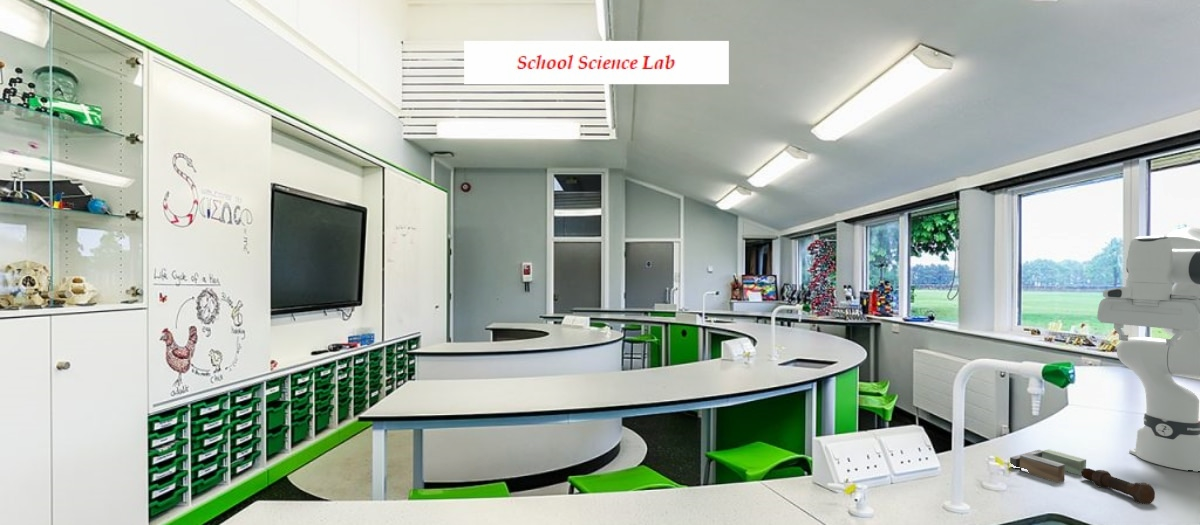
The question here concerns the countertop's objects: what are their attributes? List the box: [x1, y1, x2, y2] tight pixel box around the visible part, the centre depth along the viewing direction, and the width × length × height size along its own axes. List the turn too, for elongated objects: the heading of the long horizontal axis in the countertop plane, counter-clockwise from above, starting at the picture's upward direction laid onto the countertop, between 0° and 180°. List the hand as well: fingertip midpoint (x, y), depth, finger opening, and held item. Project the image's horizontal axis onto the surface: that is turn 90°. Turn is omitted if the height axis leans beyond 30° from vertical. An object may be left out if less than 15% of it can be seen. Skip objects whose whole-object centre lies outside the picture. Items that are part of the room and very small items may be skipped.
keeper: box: [1009, 449, 1087, 483], centre depth 152 cm, size 17×12×4 cm
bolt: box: [1080, 467, 1156, 505], centre depth 139 cm, size 6×5×15 cm
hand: (1146, 343), depth 142 cm, fingers open, 8 cm apart
